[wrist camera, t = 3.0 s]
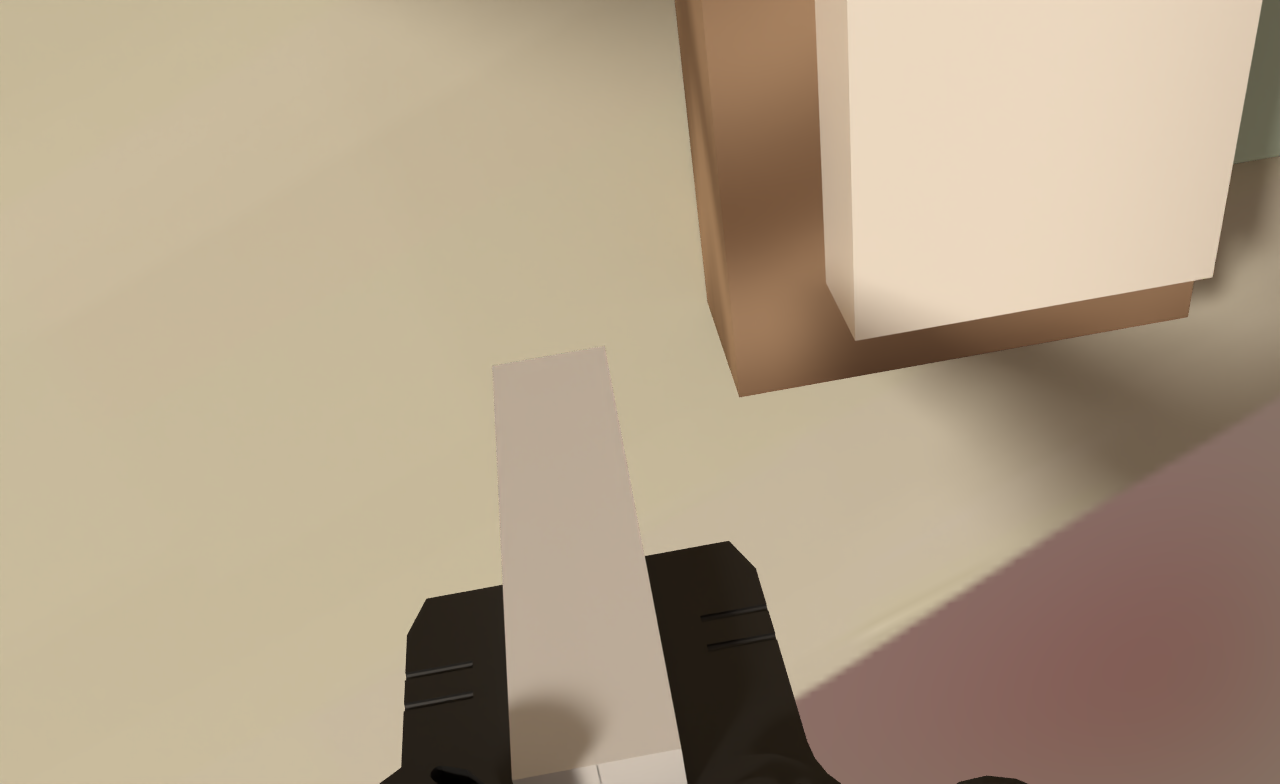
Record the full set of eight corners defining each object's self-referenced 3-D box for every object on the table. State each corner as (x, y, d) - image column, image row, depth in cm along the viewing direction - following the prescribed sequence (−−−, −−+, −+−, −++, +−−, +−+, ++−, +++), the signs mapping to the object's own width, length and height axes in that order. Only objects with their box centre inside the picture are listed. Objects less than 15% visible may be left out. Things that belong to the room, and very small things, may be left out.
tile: (811, -67, 21) (845, -29, 19) (1210, -134, 21) (1281, -103, 19) (826, 282, 25) (855, 340, 23) (1157, 223, 25) (1212, 277, 23)
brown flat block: (654, -187, 23) (687, -141, 20) (1166, -271, 23) (1282, -239, 20) (707, 302, 29) (739, 397, 26) (1107, 231, 30) (1187, 317, 26)
